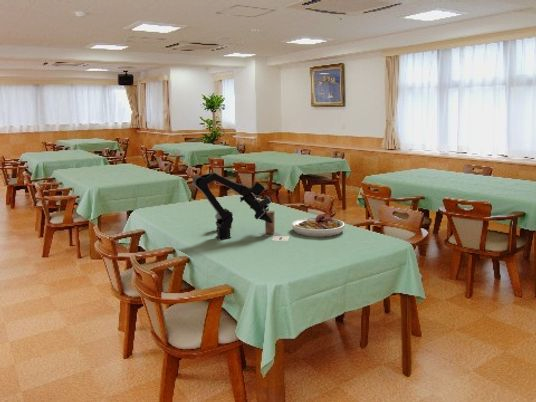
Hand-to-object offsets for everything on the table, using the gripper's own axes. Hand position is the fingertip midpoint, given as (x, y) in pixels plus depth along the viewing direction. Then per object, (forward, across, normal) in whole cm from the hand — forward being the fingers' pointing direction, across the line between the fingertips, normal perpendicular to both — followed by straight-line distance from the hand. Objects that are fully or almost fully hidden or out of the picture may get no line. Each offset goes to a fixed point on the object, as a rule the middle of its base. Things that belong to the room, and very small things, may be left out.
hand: (272, 221), depth 277 cm
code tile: (+9, -8, +1) cm, 13 cm away
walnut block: (+4, 0, +5) cm, 6 cm away
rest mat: (+4, 0, +6) cm, 8 cm away
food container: (-17, +10, +28) cm, 34 cm away
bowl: (+24, +10, -12) cm, 28 cm away
